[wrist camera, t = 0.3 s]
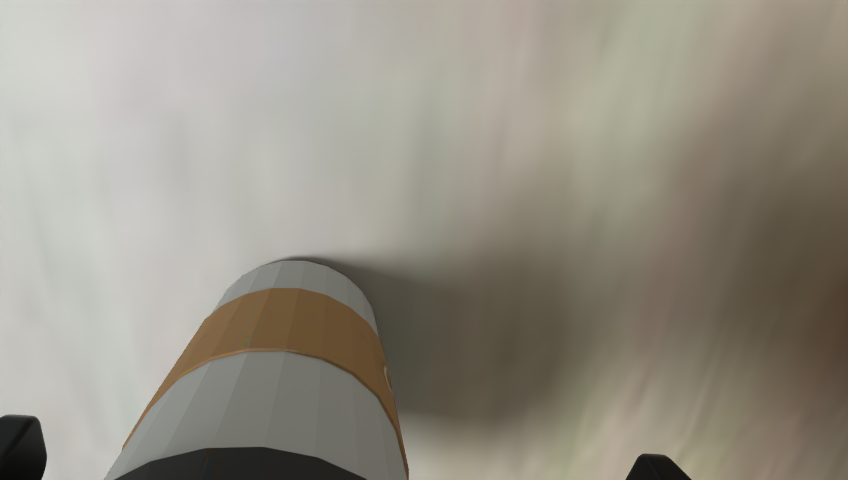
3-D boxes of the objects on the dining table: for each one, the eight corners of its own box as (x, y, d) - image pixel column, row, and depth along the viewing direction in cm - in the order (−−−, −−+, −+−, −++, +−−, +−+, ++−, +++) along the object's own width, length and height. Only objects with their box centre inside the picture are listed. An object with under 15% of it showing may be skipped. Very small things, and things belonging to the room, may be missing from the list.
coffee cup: (383, 423, 28) (409, 853, 14) (184, 405, 26) (-15, 858, 12) (417, 245, 25) (492, 553, 11) (197, 215, 24) (-38, 519, 10)
